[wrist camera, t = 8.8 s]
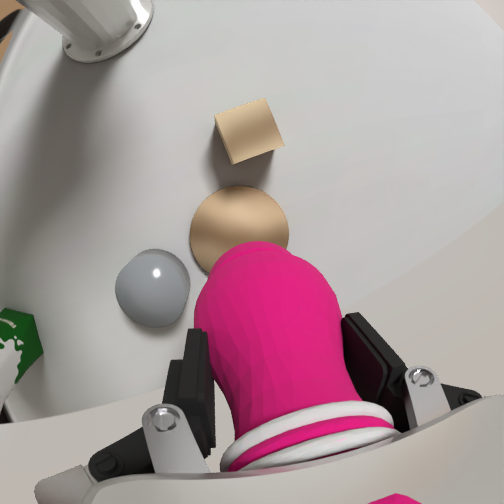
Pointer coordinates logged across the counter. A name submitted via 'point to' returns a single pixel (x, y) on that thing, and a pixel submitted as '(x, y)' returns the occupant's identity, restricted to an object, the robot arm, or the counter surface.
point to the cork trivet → (235, 223)
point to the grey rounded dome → (153, 288)
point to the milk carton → (16, 348)
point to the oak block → (248, 130)
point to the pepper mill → (283, 363)
